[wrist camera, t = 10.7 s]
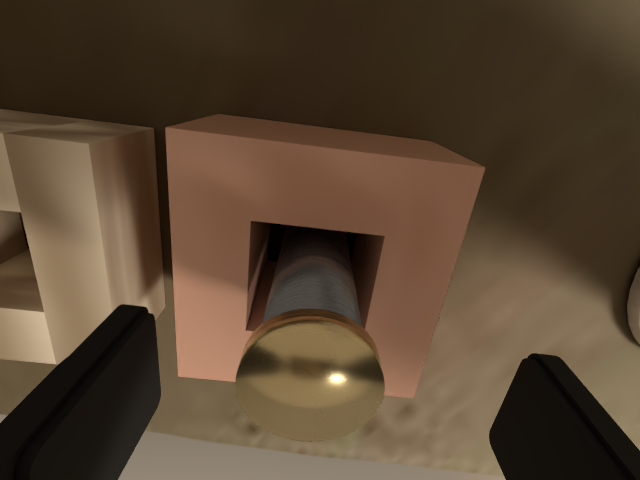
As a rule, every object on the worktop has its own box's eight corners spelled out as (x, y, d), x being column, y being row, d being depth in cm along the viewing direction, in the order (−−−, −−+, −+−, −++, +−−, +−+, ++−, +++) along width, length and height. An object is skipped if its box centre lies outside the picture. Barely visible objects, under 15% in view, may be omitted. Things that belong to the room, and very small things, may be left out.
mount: (153, 127, 16) (88, 143, 12) (165, 306, 20) (120, 370, 16) (-70, 100, 16) (-228, 105, 11) (-13, 288, 20) (-113, 348, 15)
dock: (431, 141, 17) (485, 167, 11) (388, 314, 21) (413, 398, 15) (218, 113, 16) (165, 127, 11) (217, 297, 20) (178, 376, 15)
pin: (355, 197, 18) (398, 338, 8) (344, 260, 19) (370, 446, 9) (284, 189, 18) (237, 321, 8) (278, 253, 19) (233, 435, 9)
